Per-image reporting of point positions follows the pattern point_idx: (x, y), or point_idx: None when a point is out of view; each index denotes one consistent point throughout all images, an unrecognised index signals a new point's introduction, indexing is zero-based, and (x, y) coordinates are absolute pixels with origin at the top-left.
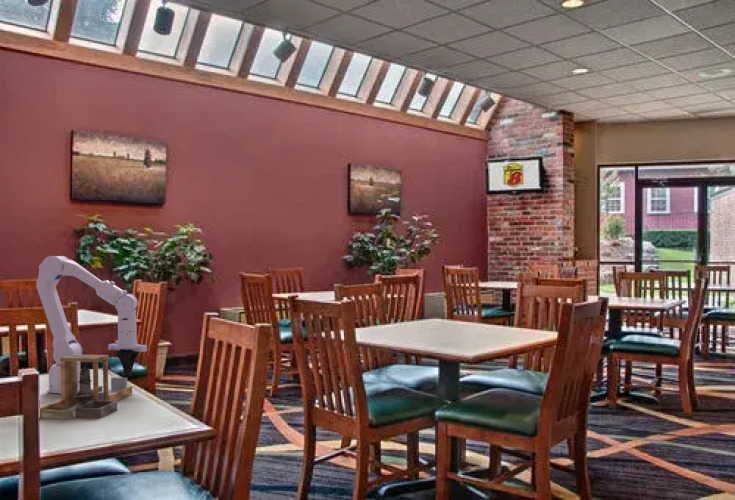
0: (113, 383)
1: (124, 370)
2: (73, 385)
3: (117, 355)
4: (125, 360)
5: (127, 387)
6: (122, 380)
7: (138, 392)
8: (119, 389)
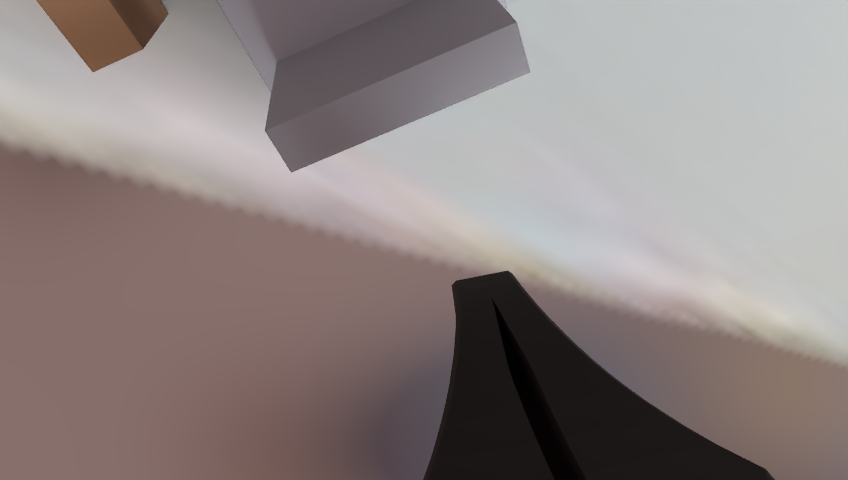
0: (452, 11)
1: (502, 293)
2: None
3: (728, 462)
4: (491, 426)
5: (99, 6)
6: (314, 93)
7: (207, 155)
8: (357, 25)
